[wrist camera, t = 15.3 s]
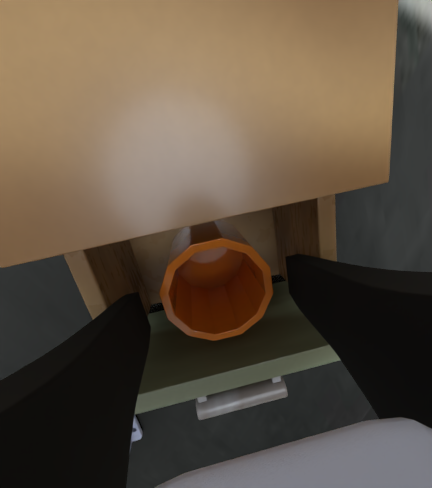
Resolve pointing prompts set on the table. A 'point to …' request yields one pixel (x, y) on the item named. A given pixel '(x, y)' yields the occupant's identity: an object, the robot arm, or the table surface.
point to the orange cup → (214, 282)
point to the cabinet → (184, 113)
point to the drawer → (228, 349)
